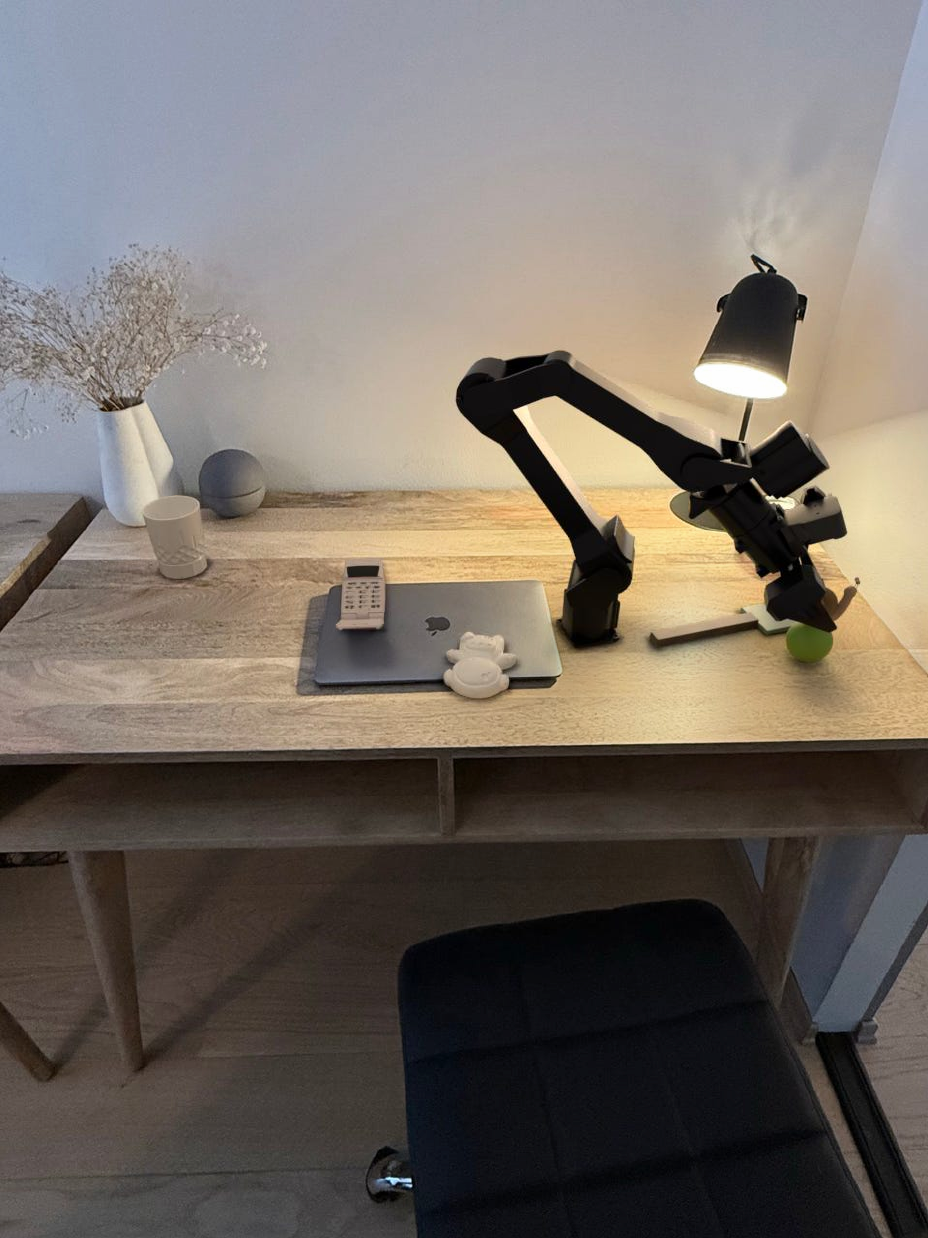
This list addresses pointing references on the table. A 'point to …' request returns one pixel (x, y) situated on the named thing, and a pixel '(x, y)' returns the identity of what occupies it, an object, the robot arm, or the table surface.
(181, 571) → the white cup
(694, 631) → the spatula
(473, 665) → the white animal figurine
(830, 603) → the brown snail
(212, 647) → the table surface
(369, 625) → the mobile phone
